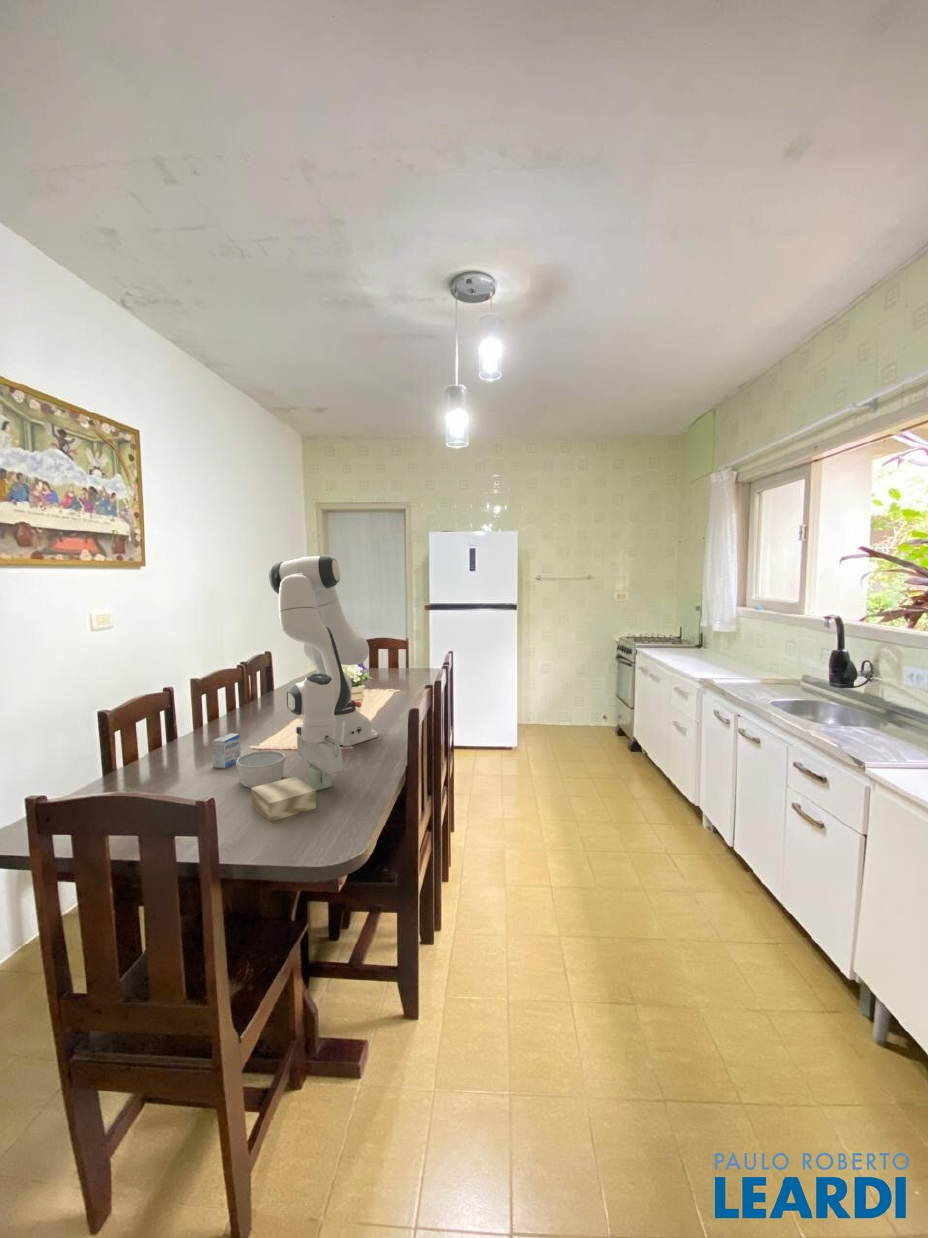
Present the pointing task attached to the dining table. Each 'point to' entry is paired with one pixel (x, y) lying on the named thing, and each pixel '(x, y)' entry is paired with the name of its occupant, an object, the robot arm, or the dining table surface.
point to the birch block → (283, 798)
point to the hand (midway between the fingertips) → (319, 779)
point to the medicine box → (225, 750)
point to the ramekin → (260, 767)
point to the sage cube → (316, 778)
